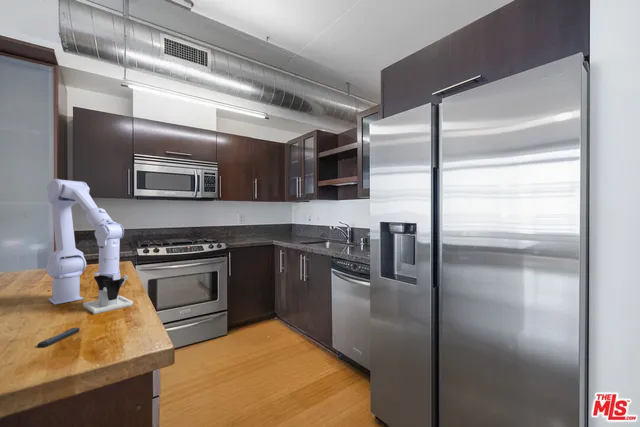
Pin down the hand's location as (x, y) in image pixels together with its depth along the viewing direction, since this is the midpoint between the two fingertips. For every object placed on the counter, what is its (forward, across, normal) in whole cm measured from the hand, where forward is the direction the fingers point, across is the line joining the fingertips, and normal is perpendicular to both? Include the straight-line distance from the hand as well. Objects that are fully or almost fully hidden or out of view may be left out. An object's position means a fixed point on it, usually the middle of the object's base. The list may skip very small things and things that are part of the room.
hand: (108, 297), depth 97 cm
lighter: (+3, -11, +6) cm, 13 cm away
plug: (+2, 0, 0) cm, 2 cm away
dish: (+3, 0, 0) cm, 3 cm away
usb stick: (+4, +20, -16) cm, 26 cm away
